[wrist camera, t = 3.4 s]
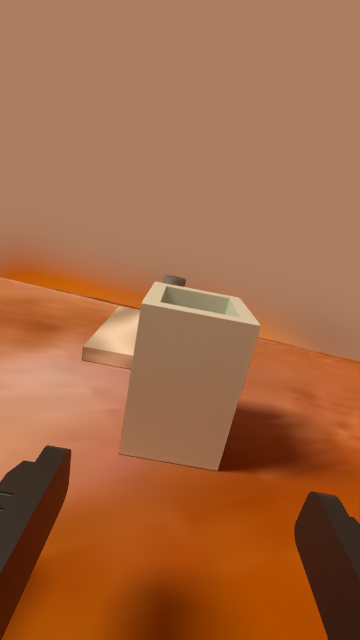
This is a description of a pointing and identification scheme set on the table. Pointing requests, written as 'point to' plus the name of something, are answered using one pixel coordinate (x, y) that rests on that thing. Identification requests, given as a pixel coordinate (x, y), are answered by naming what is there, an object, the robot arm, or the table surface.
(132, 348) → the post base
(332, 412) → the table surface
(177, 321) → the cream square bin
